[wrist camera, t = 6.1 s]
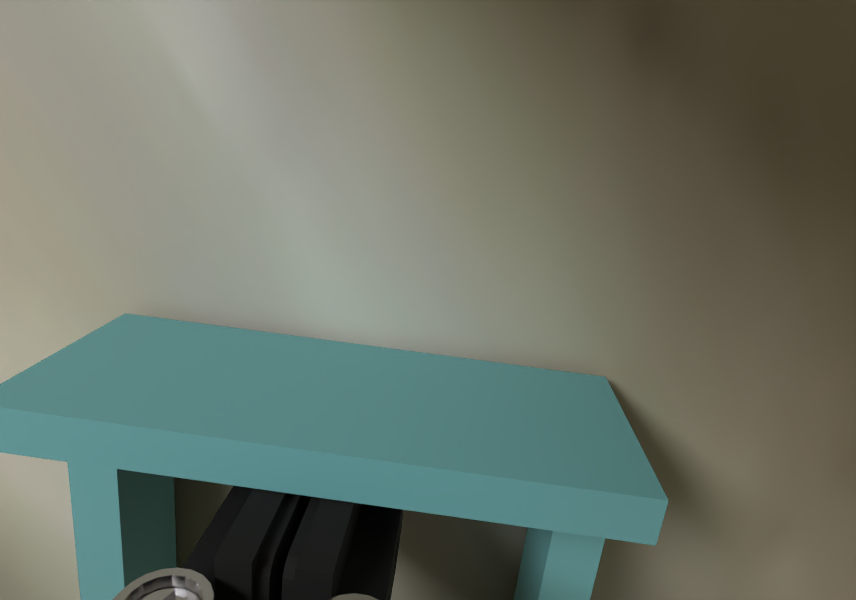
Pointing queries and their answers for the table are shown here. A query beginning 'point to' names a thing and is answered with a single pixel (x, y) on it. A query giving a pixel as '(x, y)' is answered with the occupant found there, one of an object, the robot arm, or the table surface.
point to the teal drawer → (327, 442)
